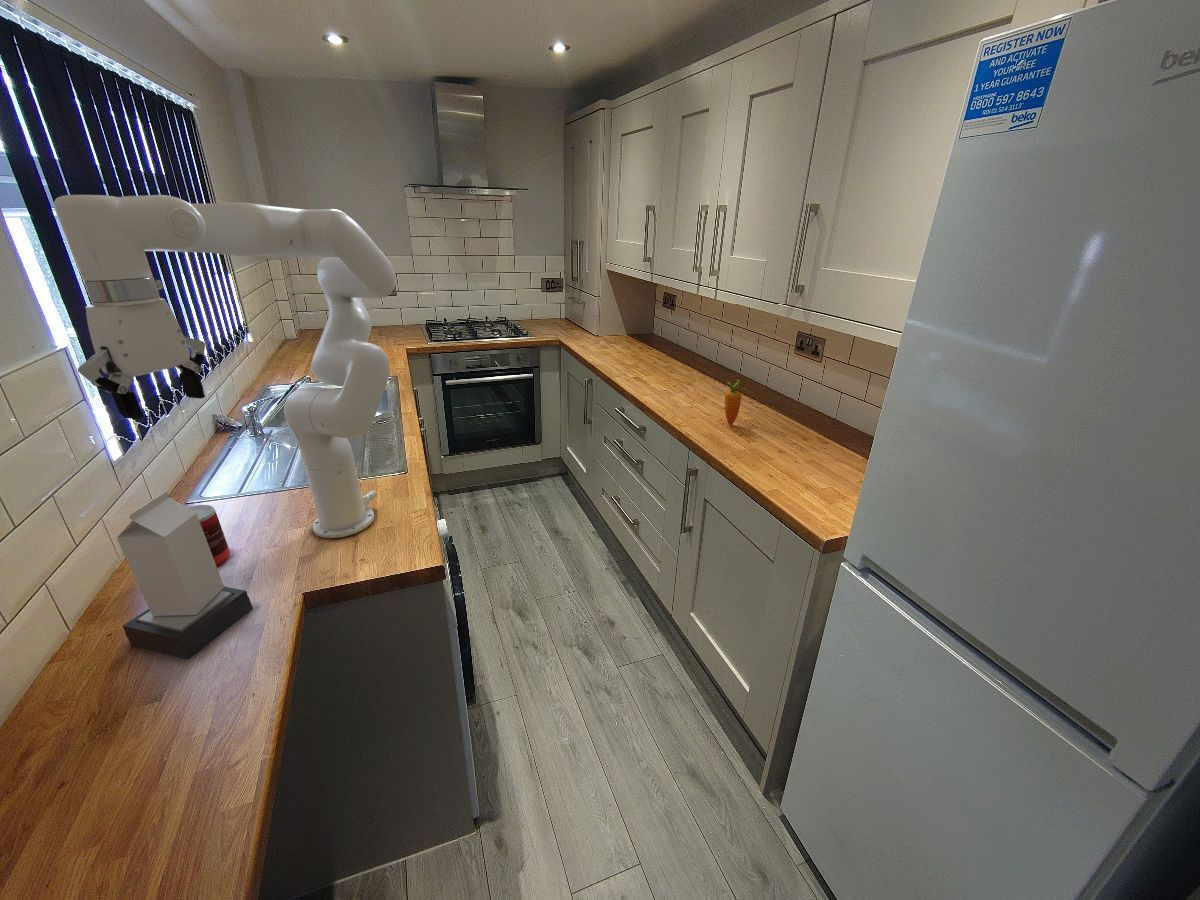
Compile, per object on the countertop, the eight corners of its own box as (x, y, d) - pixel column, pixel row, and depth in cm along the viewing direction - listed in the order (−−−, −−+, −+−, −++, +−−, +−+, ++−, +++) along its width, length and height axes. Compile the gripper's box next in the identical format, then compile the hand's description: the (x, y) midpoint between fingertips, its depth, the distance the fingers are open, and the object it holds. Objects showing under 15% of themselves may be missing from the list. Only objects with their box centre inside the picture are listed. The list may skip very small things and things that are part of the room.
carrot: (723, 427, 168) (726, 382, 162) (722, 422, 172) (726, 378, 166) (739, 428, 167) (743, 382, 161) (737, 422, 172) (742, 378, 166)
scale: (200, 597, 95) (193, 579, 93) (253, 608, 92) (246, 590, 90) (130, 645, 84) (121, 625, 83) (187, 659, 82) (179, 639, 80)
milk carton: (225, 587, 91) (188, 490, 83) (196, 616, 84) (154, 513, 76) (183, 588, 91) (143, 491, 83) (152, 617, 84) (105, 514, 76)
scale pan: (193, 591, 92) (190, 584, 92) (234, 599, 90) (231, 592, 89) (140, 626, 84) (137, 619, 84) (183, 636, 82) (180, 629, 81)
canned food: (189, 556, 107) (170, 509, 103) (234, 546, 110) (218, 501, 105) (178, 577, 101) (158, 528, 96) (227, 567, 103) (209, 519, 99)
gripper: (165, 284, 82) (200, 389, 89) (30, 300, 67) (85, 424, 74) (202, 285, 80) (235, 392, 87) (72, 301, 65) (124, 429, 72)
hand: (166, 407), depth 81 cm, fingers open, 9 cm apart
